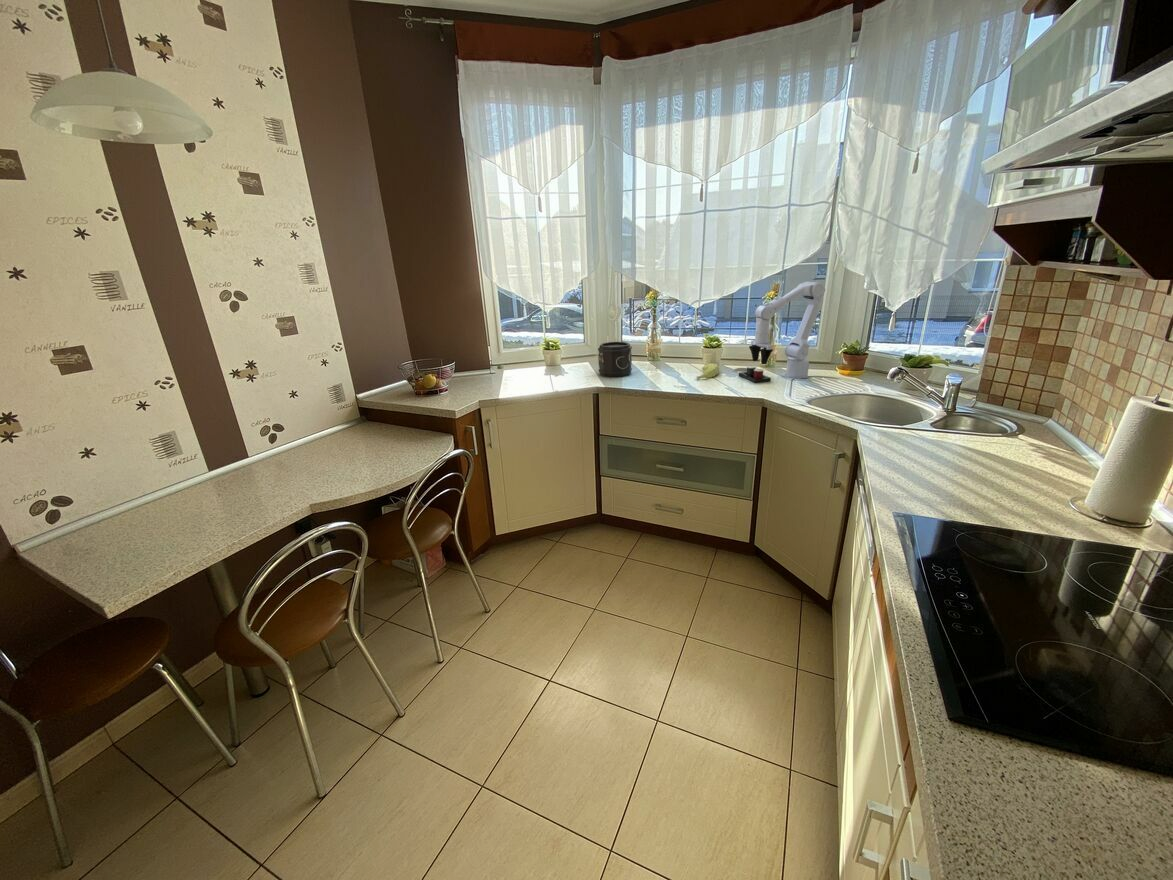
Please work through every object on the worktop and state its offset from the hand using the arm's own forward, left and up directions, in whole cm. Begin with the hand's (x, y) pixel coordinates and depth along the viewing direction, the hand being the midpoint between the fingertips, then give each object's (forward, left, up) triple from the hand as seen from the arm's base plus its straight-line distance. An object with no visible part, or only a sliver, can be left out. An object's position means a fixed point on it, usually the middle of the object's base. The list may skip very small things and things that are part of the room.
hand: (759, 362), depth 223 cm
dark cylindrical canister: (+58, -42, -10) cm, 73 cm away
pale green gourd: (+17, -20, -10) cm, 28 cm away
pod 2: (0, 0, -9) cm, 9 cm away
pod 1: (0, -7, -9) cm, 11 cm away
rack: (0, -3, -9) cm, 10 cm away
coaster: (-5, -22, -9) cm, 24 cm away
